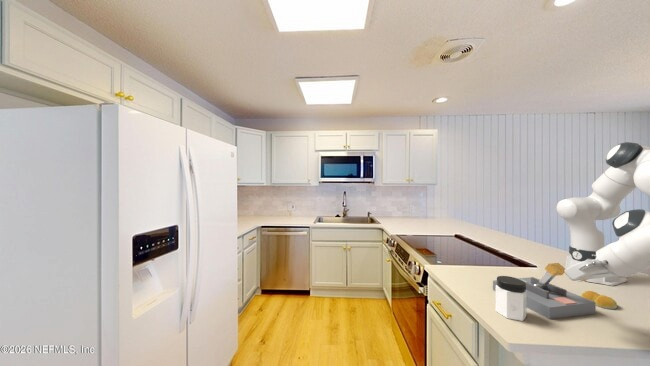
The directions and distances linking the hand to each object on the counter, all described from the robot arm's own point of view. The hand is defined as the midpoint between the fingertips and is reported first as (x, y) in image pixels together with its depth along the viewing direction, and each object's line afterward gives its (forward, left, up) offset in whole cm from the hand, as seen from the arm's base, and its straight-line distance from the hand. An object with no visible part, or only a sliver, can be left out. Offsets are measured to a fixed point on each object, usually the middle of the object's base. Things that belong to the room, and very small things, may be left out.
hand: (577, 279), depth 81 cm
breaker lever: (0, -13, -9) cm, 16 cm away
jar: (+20, -6, -14) cm, 25 cm away
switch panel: (0, -12, -13) cm, 18 cm away
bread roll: (-20, -7, -14) cm, 25 cm away
